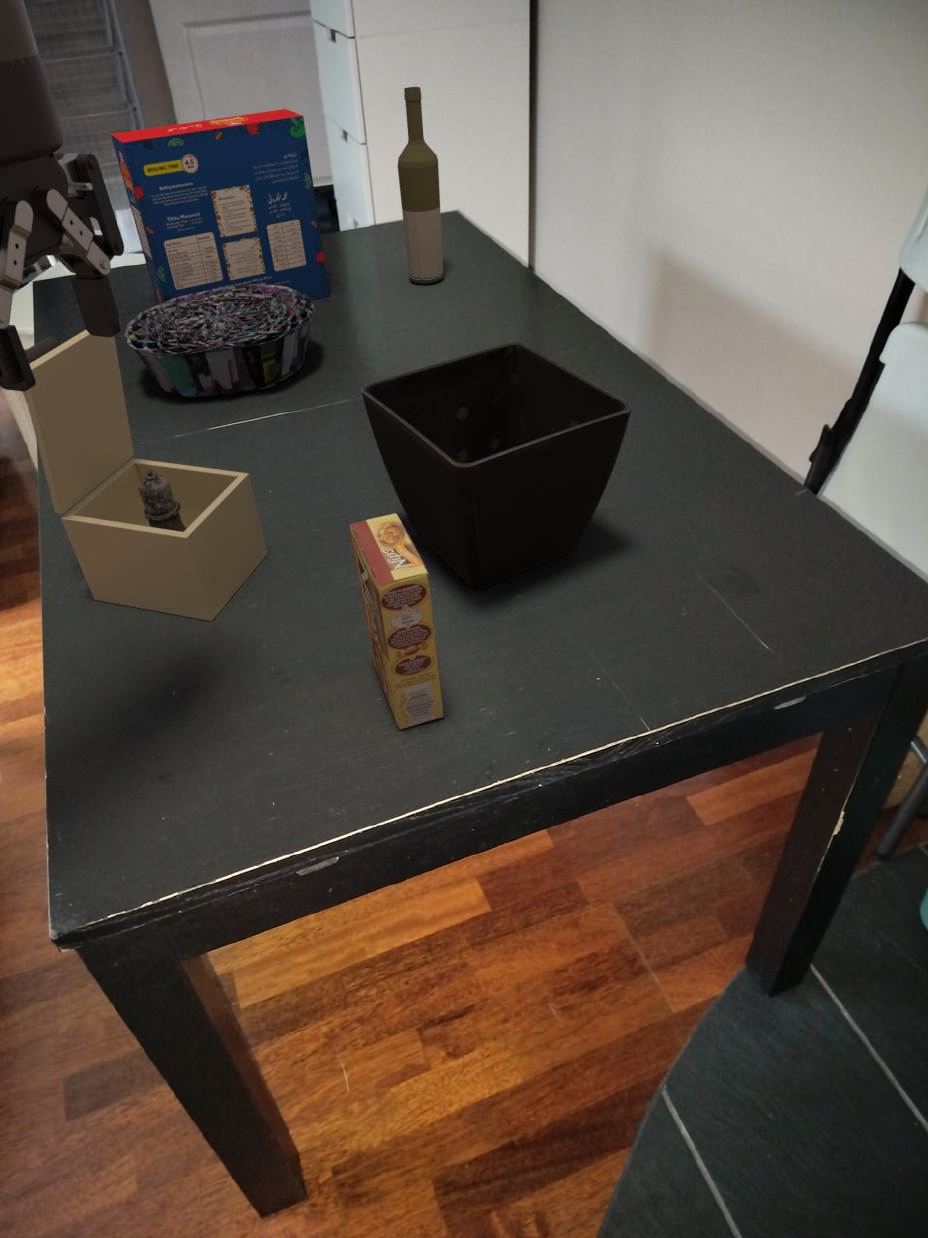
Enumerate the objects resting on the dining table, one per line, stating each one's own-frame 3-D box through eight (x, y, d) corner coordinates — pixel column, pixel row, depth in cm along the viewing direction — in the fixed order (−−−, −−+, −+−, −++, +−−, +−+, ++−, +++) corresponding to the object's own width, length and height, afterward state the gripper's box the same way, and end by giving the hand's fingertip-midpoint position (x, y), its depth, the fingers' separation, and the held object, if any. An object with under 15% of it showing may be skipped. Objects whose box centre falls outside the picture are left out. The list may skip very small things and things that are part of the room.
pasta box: (312, 283, 157) (285, 108, 139) (329, 295, 152) (303, 115, 134) (160, 317, 147) (110, 133, 129) (173, 331, 142) (122, 142, 124)
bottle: (450, 274, 158) (439, 83, 138) (440, 287, 152) (427, 91, 133) (413, 272, 159) (397, 84, 140) (402, 285, 154) (384, 92, 135)
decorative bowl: (346, 393, 125) (342, 325, 119) (151, 425, 115) (136, 352, 109) (294, 335, 143) (287, 273, 137) (121, 359, 133) (106, 293, 127)
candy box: (446, 718, 72) (433, 571, 62) (397, 732, 71) (376, 585, 61) (415, 652, 78) (398, 510, 68) (370, 665, 77) (347, 522, 67)
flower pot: (624, 554, 88) (637, 402, 77) (469, 623, 81) (460, 466, 70) (518, 478, 101) (517, 338, 90) (376, 531, 94) (356, 386, 83)
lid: (111, 319, 78) (60, 306, 79) (26, 372, 70) (-30, 356, 71) (134, 454, 88) (88, 441, 89) (62, 515, 80) (11, 499, 81)
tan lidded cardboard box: (268, 553, 91) (249, 473, 85) (211, 621, 83) (186, 537, 77) (158, 536, 95) (132, 457, 89) (93, 599, 86) (60, 518, 80)
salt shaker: (139, 581, 87) (102, 478, 79) (175, 549, 91) (142, 448, 84) (187, 592, 85) (153, 488, 78) (221, 559, 89) (192, 457, 82)
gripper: (-5, 37, 50) (83, 316, 60) (-221, 71, 39) (-69, 403, 49) (105, 35, 48) (177, 323, 58) (-91, 71, 37) (39, 415, 48)
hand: (64, 359), depth 54 cm, fingers open, 8 cm apart
